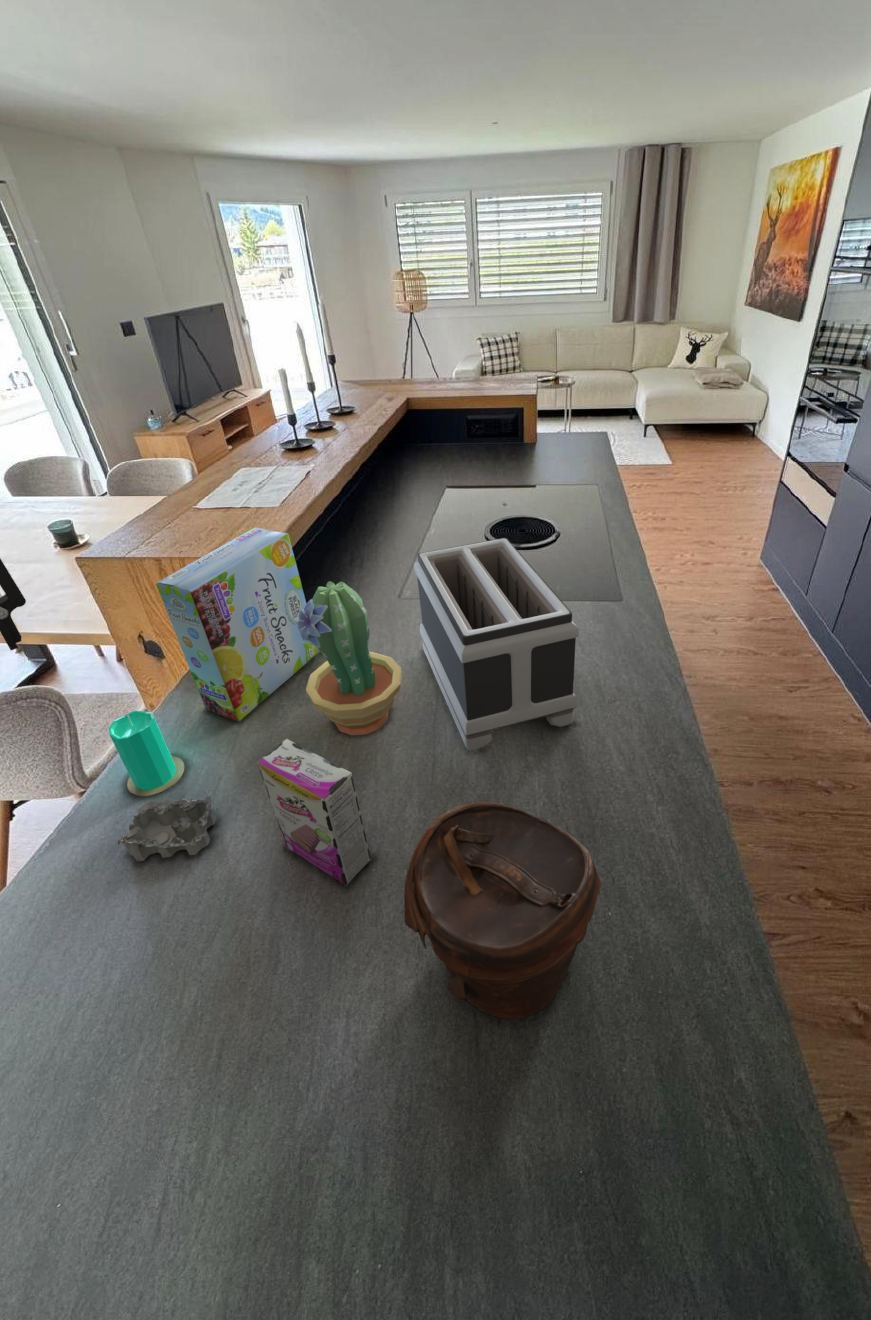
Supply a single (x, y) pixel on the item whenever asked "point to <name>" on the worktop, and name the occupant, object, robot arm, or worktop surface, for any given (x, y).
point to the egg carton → (169, 828)
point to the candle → (142, 749)
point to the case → (501, 904)
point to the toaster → (495, 639)
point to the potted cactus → (347, 662)
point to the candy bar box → (316, 810)
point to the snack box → (239, 620)
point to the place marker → (176, 777)
